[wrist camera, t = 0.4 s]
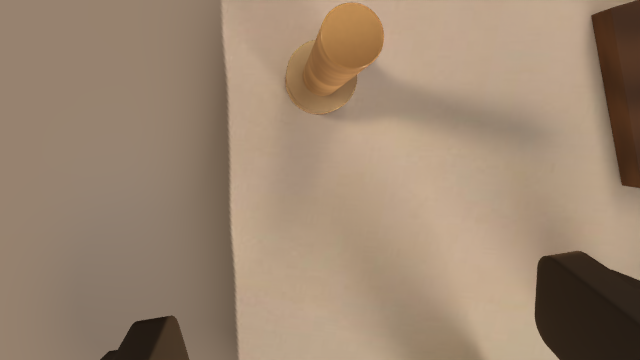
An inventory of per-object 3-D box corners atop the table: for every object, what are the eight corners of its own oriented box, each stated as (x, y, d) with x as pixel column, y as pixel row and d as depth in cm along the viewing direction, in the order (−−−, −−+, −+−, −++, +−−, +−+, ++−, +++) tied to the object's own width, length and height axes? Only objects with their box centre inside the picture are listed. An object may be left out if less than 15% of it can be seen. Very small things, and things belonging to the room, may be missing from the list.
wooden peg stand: (277, 57, 28) (276, -10, 15) (340, 39, 28) (393, -42, 15) (296, 122, 28) (312, 111, 15) (358, 104, 29) (423, 78, 16)
